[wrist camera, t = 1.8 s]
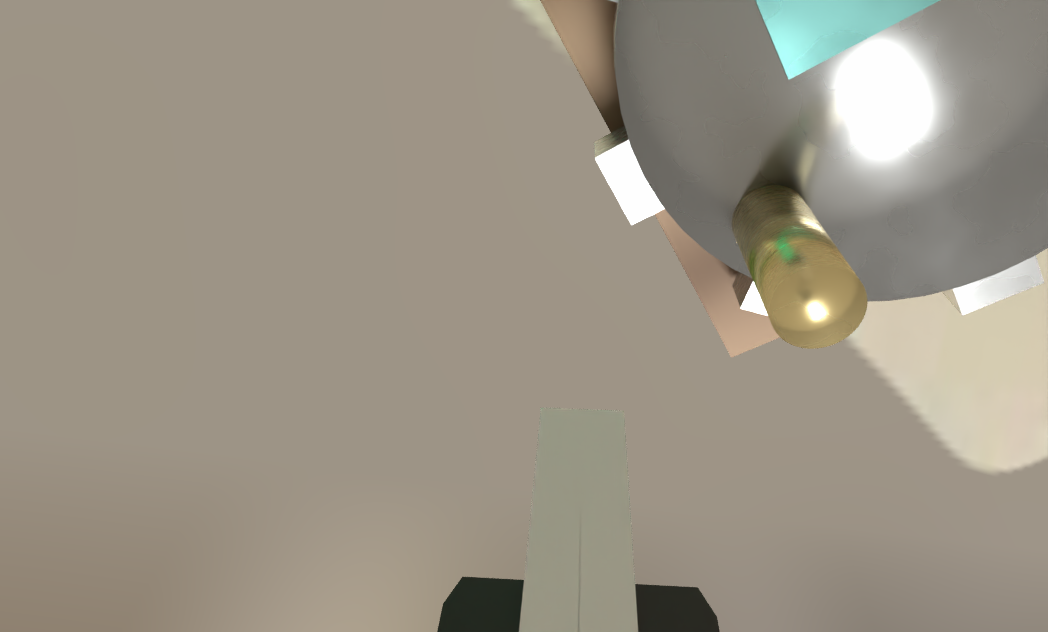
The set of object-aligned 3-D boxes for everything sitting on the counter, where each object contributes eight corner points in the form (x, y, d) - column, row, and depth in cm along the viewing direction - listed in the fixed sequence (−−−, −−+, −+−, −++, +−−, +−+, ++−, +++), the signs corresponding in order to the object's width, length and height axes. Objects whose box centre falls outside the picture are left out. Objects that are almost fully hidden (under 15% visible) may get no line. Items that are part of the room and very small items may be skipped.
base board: (495, -91, 24) (491, -91, 23) (1126, -520, 18) (1153, -540, 18) (727, 344, 31) (731, 357, 30) (1236, 126, 25) (1259, 135, 24)
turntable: (463, -99, 23) (406, -97, 16) (1186, -600, 17) (1608, -950, 10) (724, 379, 30) (765, 525, 23) (1291, 144, 24) (1574, 246, 17)
